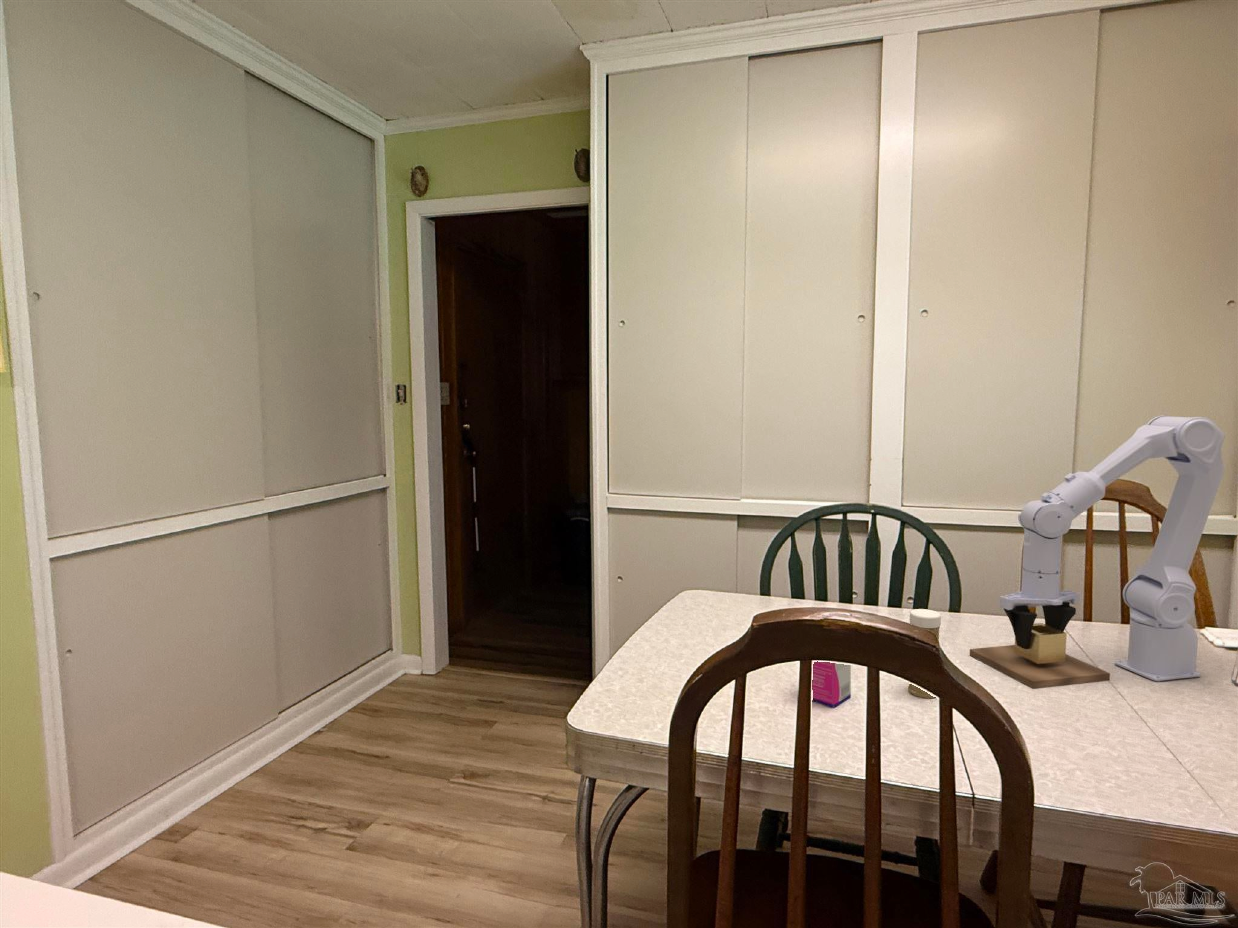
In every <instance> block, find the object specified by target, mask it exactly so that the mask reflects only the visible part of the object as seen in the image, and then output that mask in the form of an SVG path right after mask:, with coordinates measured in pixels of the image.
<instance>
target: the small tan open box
mask: <svg viewBox="0 0 1238 928" xmlns="http://www.w3.org/2000/svg"><path fill="white" fill-rule="evenodd" d="M1067 635H1068V633H1067V632H1066V631H1064V632H1063V631H1060V630H1058V629H1055V628H1053V627H1051V626H1048V625H1046V624H1045V623H1044V622H1036V623H1035V622H1034V624H1033V627H1032V632H1031V642H1030V646H1029V649H1023V648H1021V647H1019V646H1017V643H1016V639H1015V638H1014V645H1015V648H1014V652H1015V653H1017V654H1019V655H1021V656H1023V657H1025V658H1027V659H1029V660H1031V661H1033V662H1035V663H1037V664H1042V663H1052V662H1062V661H1065V654H1066V649H1067Z"/></svg>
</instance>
